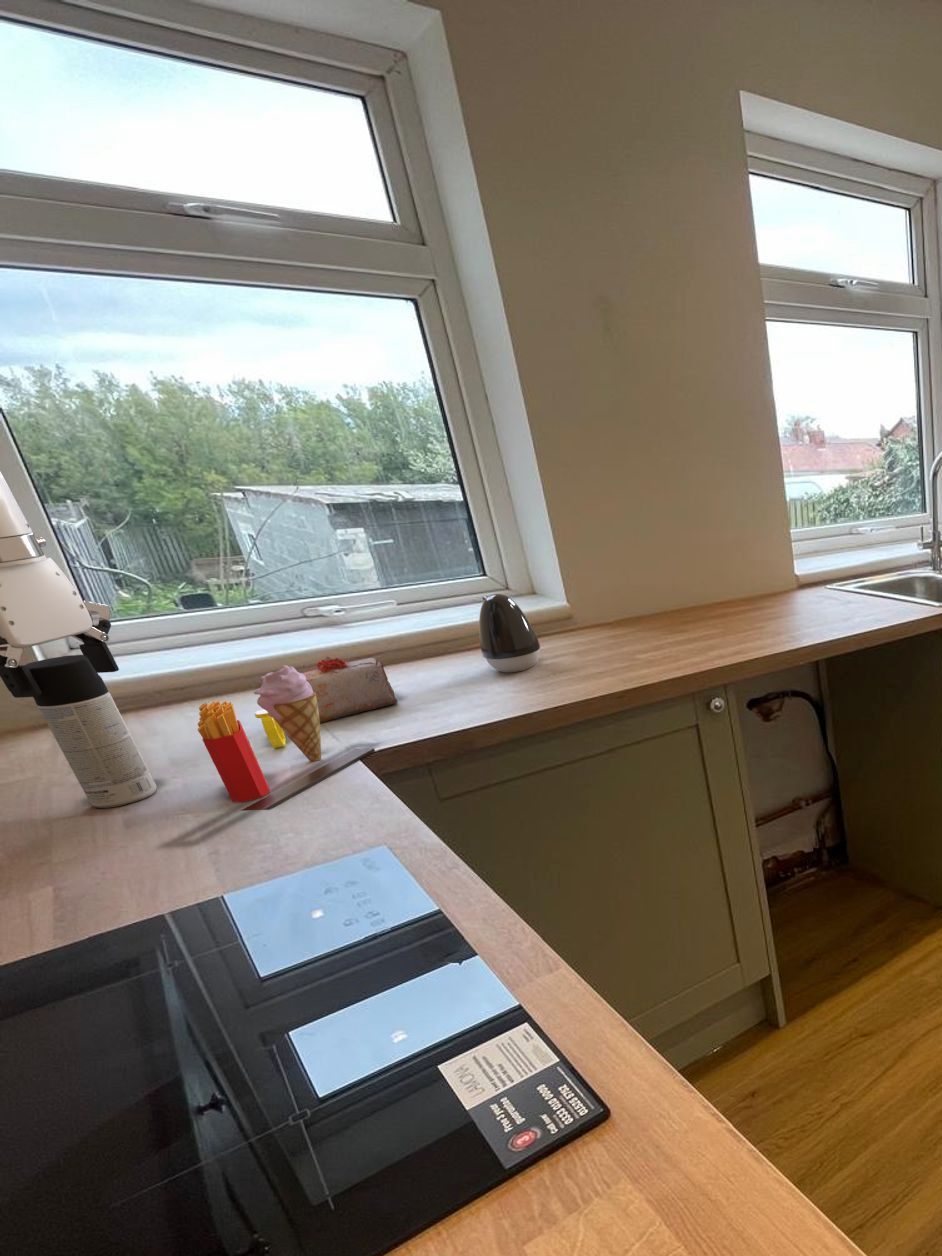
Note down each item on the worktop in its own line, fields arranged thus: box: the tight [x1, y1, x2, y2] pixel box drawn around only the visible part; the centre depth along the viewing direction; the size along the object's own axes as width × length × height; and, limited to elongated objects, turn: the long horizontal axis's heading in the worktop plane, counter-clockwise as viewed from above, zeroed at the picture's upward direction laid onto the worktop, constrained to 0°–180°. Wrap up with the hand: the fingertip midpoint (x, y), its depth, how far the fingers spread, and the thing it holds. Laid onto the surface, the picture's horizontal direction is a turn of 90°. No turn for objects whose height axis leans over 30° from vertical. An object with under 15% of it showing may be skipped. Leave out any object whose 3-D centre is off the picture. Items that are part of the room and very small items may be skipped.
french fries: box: [197, 700, 271, 803], centre depth 110 cm, size 9×4×13 cm, turn 44°
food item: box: [300, 656, 399, 724], centre depth 142 cm, size 14×8×10 cm, turn 138°
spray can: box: [25, 654, 158, 809], centre depth 109 cm, size 7×7×20 cm
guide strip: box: [240, 747, 376, 812], centre depth 112 cm, size 3×30×1 cm, turn 179°
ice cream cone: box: [253, 664, 322, 762], centre depth 120 cm, size 7×6×15 cm
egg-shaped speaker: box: [478, 593, 541, 673], centre depth 161 cm, size 10×10×15 cm
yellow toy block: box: [254, 708, 287, 749], centre depth 129 cm, size 6×3×6 cm, turn 37°
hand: (69, 683), depth 107 cm, fingers open, 9 cm apart
